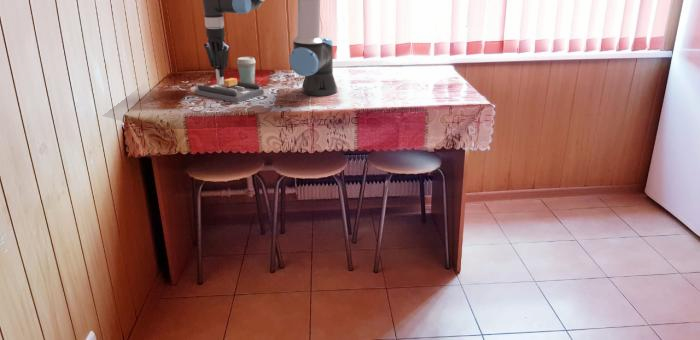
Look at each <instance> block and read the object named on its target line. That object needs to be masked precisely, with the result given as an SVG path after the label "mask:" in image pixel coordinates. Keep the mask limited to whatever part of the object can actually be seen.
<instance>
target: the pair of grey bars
mask: <svg viewBox="0 0 700 340" xmlns="http://www.w3.org/2000/svg"><path fill="white" fill-rule="evenodd" d="M225 79H226V78H224V80H225ZM208 86H209V85H201V84H198V85H197V89H199V90H203V91H209V92H214V93H219V94H225V95H230V96H236V95H237V92H235V91H230V90H224V89H219V88H213V87H208ZM236 86H242V87H248V88H253V89H261V88H260V84H257V83H254V84H252V83H246V82H241V80H240V81H239V80H237V85H236Z"/></svg>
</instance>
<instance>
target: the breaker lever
mask: <svg viewBox="0 0 700 340" xmlns="http://www.w3.org/2000/svg"><path fill="white" fill-rule="evenodd" d="M224 79H225V80H223V81H224V86H227V88H231V89H235V85H237V81H238V78H237V77H236V78H235V77H230V78H224Z"/></svg>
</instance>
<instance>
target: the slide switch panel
mask: <svg viewBox="0 0 700 340" xmlns="http://www.w3.org/2000/svg"><path fill="white" fill-rule="evenodd" d="M207 86H208V87H213V88H219V89H224V90H230V91H235V92H237V95H236V96H230V95H225V94H219V93H214V92H209V91H203V90H199V89H198V88H197V89H195V95H198V96H203V97H208V98H213V99H218V100H223V101H228V102H234V103H240V102H241V103H242V102H243V101H246V100H250V99H252V98H253V99H254V98H256V97H258V96H261V95H264V88H259V89H253V88H248V87H242V86H236V85H235V89H231V88H227V86H224V84H221V85H218V84H217V83H215V84H214V83H213V84H211V85H207Z"/></svg>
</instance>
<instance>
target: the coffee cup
mask: <svg viewBox="0 0 700 340" xmlns="http://www.w3.org/2000/svg"><path fill="white" fill-rule="evenodd" d="M256 63H257V62H256V59H255V57H253V56H240V57H238V58H237V60H236V65H237V70H238V73H239V79H240V82H246V83H252V84H255V81H256V80H255V76H256Z"/></svg>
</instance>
